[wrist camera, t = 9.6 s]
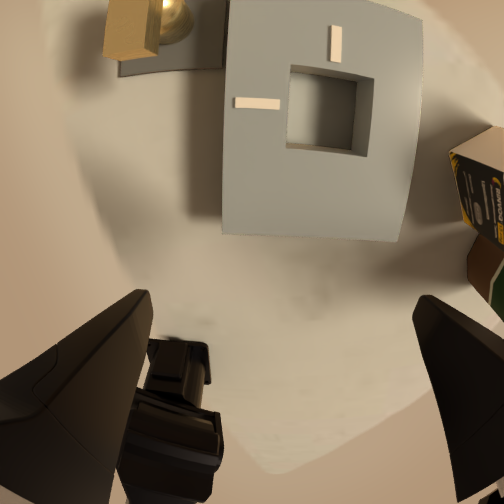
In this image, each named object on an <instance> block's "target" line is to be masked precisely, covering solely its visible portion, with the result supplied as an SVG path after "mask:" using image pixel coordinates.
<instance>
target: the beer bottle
mask: <svg viewBox="0 0 504 504" xmlns="http://www.w3.org/2000/svg"><path fill="white" fill-rule="evenodd" d="M467 277H468V281H469V282H470V283H471V284H472V285H473V287H474V288H475V289H476V291H477V292H478V293H479V294H480V295H481V296H482V297H483V298H484V299H485V301H486V302H487V303H488V304H489V305H490V306H491V308H492V309H493V310H494V311H495V312H496V313H497V315H498V316H499V317H500V318H501V320H502V321H503V322H504V252H503V251H502V250H500V249H499V248H498V247H497V246H495V245H494V244H493V243H492V242H490V241H489V240H488V239H487V238H485V237H484V236H483V235H481V234H480V233H479V235H478V237H477V239H476V241H475V243H474V245H473V247H472V249H471V251H470V253H469V254H468V256H467Z"/></svg>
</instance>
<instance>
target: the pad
mask: <svg viewBox="0 0 504 504" xmlns="http://www.w3.org/2000/svg"><path fill="white" fill-rule="evenodd" d="M184 1H185V2H186V4H187V5H188V7H189V8H190V10H191V11H192V13H193V15H194V19H195V23H194V27H193V29H192V31H191V33H190V34H189V35H188V36H187V37H186V38H185V39H183V40H182V41H180V42H178V43H175V44H171V45H162V44H159V52H158V56H151V57H144V58H137V59H131V60H125V61H121V74H120V77H126V76H132V75H139V74H146V73H155V72H164V71H175V70H190V69H222V65H223V47H224V31H225V16H226V3H227V0H184Z"/></svg>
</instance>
